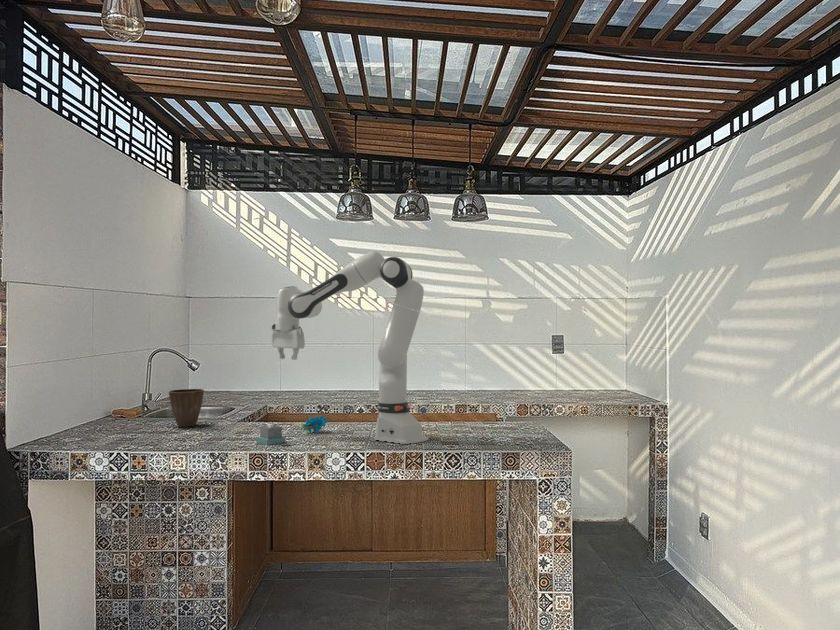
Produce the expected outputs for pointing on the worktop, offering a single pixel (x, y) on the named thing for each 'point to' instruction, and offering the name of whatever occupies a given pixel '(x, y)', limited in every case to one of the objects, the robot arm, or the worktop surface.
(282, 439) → the shaft block
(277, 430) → the collar
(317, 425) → the blue toy dinosaur
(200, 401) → the plant pot
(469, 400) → the worktop surface
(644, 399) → the worktop surface
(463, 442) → the worktop surface
